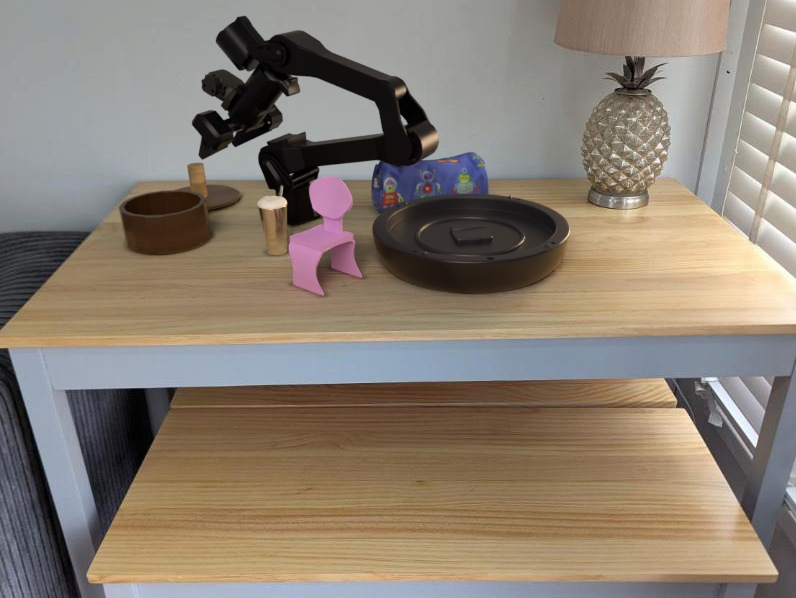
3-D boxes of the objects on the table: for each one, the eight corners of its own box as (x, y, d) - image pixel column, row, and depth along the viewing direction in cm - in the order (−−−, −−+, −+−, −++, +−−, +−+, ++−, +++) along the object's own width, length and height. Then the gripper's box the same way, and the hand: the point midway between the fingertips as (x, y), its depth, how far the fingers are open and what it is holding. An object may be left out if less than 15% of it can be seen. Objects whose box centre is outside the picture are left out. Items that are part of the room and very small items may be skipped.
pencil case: (375, 219, 137) (373, 166, 132) (365, 204, 144) (363, 153, 140) (493, 208, 141) (495, 156, 137) (478, 194, 149) (480, 144, 144)
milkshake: (299, 247, 126) (294, 187, 121) (281, 258, 122) (275, 197, 117) (276, 243, 128) (269, 183, 123) (257, 254, 124) (250, 193, 119)
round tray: (363, 231, 132) (387, 307, 106) (362, 197, 129) (386, 266, 103) (533, 219, 136) (596, 289, 110) (535, 185, 133) (600, 250, 107)
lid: (254, 202, 147) (249, 165, 143) (183, 220, 138) (177, 181, 135) (216, 185, 156) (211, 150, 153) (148, 201, 148) (141, 164, 145)
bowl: (216, 224, 136) (210, 188, 133) (203, 253, 125) (197, 215, 121) (137, 227, 136) (130, 191, 133) (117, 256, 124) (109, 218, 121)
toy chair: (285, 284, 114) (275, 183, 106) (328, 265, 119) (321, 169, 112) (325, 299, 109) (317, 195, 101) (367, 279, 115) (363, 179, 107)
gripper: (262, 46, 137) (221, 105, 147) (191, 63, 122) (151, 127, 132) (303, 96, 137) (259, 152, 147) (237, 118, 123) (194, 178, 133)
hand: (217, 151), depth 140 cm, fingers open, 9 cm apart
